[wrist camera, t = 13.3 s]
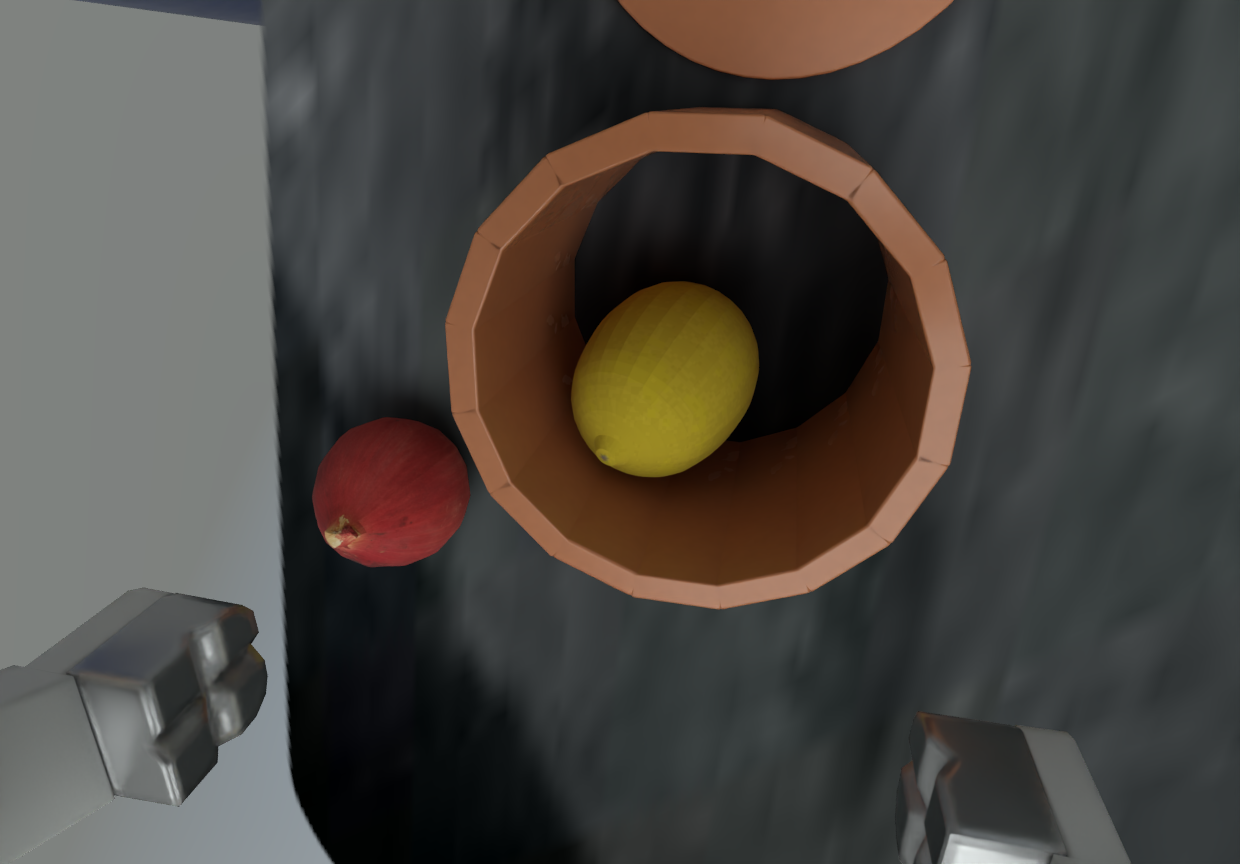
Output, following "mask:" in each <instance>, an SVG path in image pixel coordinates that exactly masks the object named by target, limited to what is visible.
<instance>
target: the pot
mask: <svg viewBox="0 0 1240 864" xmlns="http://www.w3.org/2000/svg"><path fill="white" fill-rule="evenodd" d="M658 151H660V152H687V153H714V154H740V155H755V156H757V157H760V158H762V159H764V160H766V161H768V162H770V163H772V164H774V165H776V166H778V167H780V168H782V169H784V170H786V171H788V172H790V173H792V174H794V175H796V176H798V177H800V178H802V179H804V180H806V181H808V182H810V183H812V184H814V185H817V186H819V187H821V188H823V189H825V190H827V191H829V192H831V193H833V194H835V195H837V196H839V197H841V198H843V199H845V200H847V201H848V203H849V204H850V205H851V206H852V207H853V209H854V210H855V211H856V212H857V214H858V215H859V216H860V217H861V218H862V220H863V221H864V222H865V223H866V225H867V226H868V227H869V228H870V229H871V231H872V232H873V233H874V234H875V235H876V237H877V238H878V242H879V245H880V249H881V253H882V257H883V261H884V264H885V268H886V272H887V276H888V284H887V290H886V296H885V303H884V309H883V315H882V321H881V327H880V333H879V339H878V342H877V344H876V345H875V347H874V349H873V350H872V352H871V353H870V355H869V356H868V358H867V360H866V361H865V363H864V364H863V366H862V368H861V369H860V371H859V372H858V374H857V375H856V377H855V379H854V380H853V382H852V383H851V385H850V386H849V388H848V390H847V391H846V393H845V394H843V395H842V396H840V397H839V398H838V399H836V400H835V401H833V402H832V403H831V404H829V405H828V406H826V407H825V408H824V409H822V410H821V411H820V412H818V413H817V414H815V415H814V416H813V417H811V418H810V419H808V420H807V421H806V422H804V423H803V424H801V425H800V426H799V427H797V428H794V429H790V430H786V431H782V432H778V433H774V434H770V435H767V436H763V437H759V438H755V439H751V440H747V441H743V442H735V441H725V442H724V443H723V444H722V445H721V446H720V447H718V448H717V449H716V450H715V451H714V452H713V453H712V454H710V455H709V456H708V457H706V458H705V459H703V460H702V461H700V462H699V463H697V464H696V465H694V466H692V467H691V468H689V469H687V470H685V471H683V472H680V473H677V474H673V475H668V476H664V477H641V476H635V475H631V474H627V473H624V472H622V471H619V470H617V469H615V468H613V467H611V466H609V465H606V464H604V463H602V462H601V461H600V460H599V459H598V457H597V456H596V455H595V454H594V453H593V452H592V450H591V449H590V448H589V447H588V445H587V444H586V442H585V441H584V439H583V438H582V436H581V434H580V432H579V429H578V427H577V425H576V422H575V420H574V414H573V409H572V403H571V390H572V383H573V377H574V373H575V369H576V366H577V363H578V361H579V358H580V356H581V354H582V352H583V350H584V348H585V347H586V344H585V342H584V339H583V337H582V334H581V332H580V329H579V326H578V324H577V321H576V319H575V257H576V254H577V252H578V249H579V247H580V244H581V242H582V240H583V237H584V235H585V232H586V230H587V227H588V225H589V222H590V220H591V217H592V215H593V212H594V210H595V208H596V205H597V203H598V202H599V201H600V200H601V199H602V198H603V197H604V196H605V195H606V194H607V193H608V192H609V191H610V190H611V189H612V188H613V187H614V186H615V185H616V184H617V183H618V182H619V181H620V180H621V179H622V178H623V177H624V176H625V175H626V174H627V173H628V172H629V170H630V169H631V168H632V167H633V166H634V165H635V164H636V163H637V162H638V161H639V160H640V159H641V158H643V157H645V156H648V155H650V154H653V153H655V152H658ZM445 329H446V343H447V357H448V370H449V384H450V398H451V411H452V415H453V417H454V420H455V422H456V424H457V426H458V428H459V430H460V432H461V434H462V437H463V439H464V441H465V443H466V445H467V447H468V449H469V451H470V454H471V456H472V458H473V460H474V462H475V464H476V466H477V468H478V471H479V473H480V475H481V477H482V479H483V481H484V483H485V485H486V488H487V490H488V492H489V493H490V495H491V496H492V497H493V498H494V499H495V500H496V501H497V502H498V503H499V504H500V505H501V506H502V507H503V508H504V509H505V510H506V511H507V512H508V513H509V514H510V515H511V516H512V517H513V518H514V519H515V520H516V521H517V522H518V523H519V524H520V525H521V526H522V527H523V528H524V529H525V530H526V531H527V532H528V533H529V534H530V535H531V536H532V537H533V538H534V539H535V540H536V541H537V542H538V543H539V544H540V545H541V546H542V547H543V549H544V550H545V551H546V552H547V553H548V554H549V555H550V556H553V555H554V557H555V558H556V559H558V560H560V561H562V562H564V563H566V564H568V565H570V566H572V567H574V568H576V569H578V570H580V571H582V572H584V573H586V574H588V575H590V576H592V577H594V578H596V579H598V580H600V581H602V582H604V583H606V584H608V585H610V586H612V587H614V588H616V589H618V590H620V591H622V592H624V593H626V594H628V595H631V594H632V596H633V597H637V598H644V599H651V600H658V601H665V602H671V603H678V604H685V605H692V606H699V607H706V608H712V609H720V608H721V609H726V608H731V607H736V606H742V605H747V604H752V603H758V602H763V601H768V600H774V599H779V598H784V597H790V596H795V595H800V594H806V593H809V592H810V591H814V590H816V589H817V588H819V587H821V586H822V585H824V584H826V583H827V582H829V581H831V580H832V579H834V578H836V577H837V576H839V575H841V574H842V573H844V572H846V571H847V570H849V569H851V568H852V567H854V566H855V565H857V564H859V563H860V562H862V561H864V560H865V559H867V558H869V557H870V556H872V555H874V554H875V553H877V552H879V551H880V550H882V549H884V548H885V547H887V546H889V545H890V543H892V542H893V541H894V539H895V538H896V537H897V535H898V534H899V533H900V531H901V530H902V529H903V527H904V526H905V525H906V523H907V522H908V521H909V519H910V518H911V517H912V515H913V514H914V513H915V511H916V510H917V509H918V507H919V506H920V504H921V503H922V502H923V500H924V499H925V498H926V496H927V495H928V494H929V492H930V491H931V490H932V488H933V487H934V486H935V484H936V483H937V482H938V480H939V479H940V478H941V476H942V475H943V474H944V472H945V471H946V470H947V468H948V465H950V463H951V459H952V454H953V450H954V445H955V440H956V436H957V431H958V427H959V422H960V417H961V413H962V408H963V404H964V399H965V394H966V390H967V385H968V381H969V376H970V372H971V365H970V364H971V360H970V356H969V351H968V347H967V343H966V339H965V334H964V330H963V326H962V322H961V317H960V313H959V309H958V305H957V300H956V296H955V292H954V288H953V283H952V279H951V275H950V271H949V266H948V262H947V260H946V259H945V257H944V254H943V253H942V252H941V251H940V249H939V248H938V247H937V246H936V244H935V243H934V242H933V241H932V240H931V238H930V237H929V236H928V235H927V233H926V232H925V231H924V230H923V228H922V227H921V226H920V225H919V223H918V222H917V221H916V220H915V218H914V217H913V216H912V215H911V213H910V212H909V211H908V210H907V209H906V207H905V206H904V205H903V204H902V202H901V201H900V200H899V199H898V197H897V196H896V195H895V194H894V192H893V191H892V190H891V189H890V187H889V186H888V185H887V184H886V182H885V181H884V180H883V179H882V178H881V176H880V175H879V174H878V173H877V171H876V170H875V169H874V168H873V167H872V166H870V165H869V164H868V163H867V162H866V161H865V160H864V159H863V158H862V157H861V156H860V155H859V154H858V153H856V152H855V151H854V150H853V149H852V148H851V147H850V146H849V145H848V144H847V143H845V142H843V141H841V140H839V139H837V138H835V137H833V136H831V135H829V134H827V133H825V132H823V131H821V130H819V129H817V128H815V127H813V126H811V125H809V124H807V123H804V122H802V121H800V120H798V119H796V118H794V117H792V116H790V115H788V114H786V113H784V112H782V111H780V110H776V109H752V108H714V107H697V108H685V109H674V110H662V111H650V112H646V113H643V114H641V115H638V116H636V117H633V118H631V119H629V120H626V121H624V122H622V123H619V124H617V125H615V126H612V127H610V128H607V129H605V130H603V131H600V132H598V133H596V134H593V135H591V136H588V137H586V138H584V139H581V140H579V141H577V142H574V143H572V144H569V145H567V146H565V147H562V148H560V149H558V150H555V151H553V152H551V153H548V154H547V155H546V156H545V157H543V158H542V159H541V160H540V161H539V162H538V164H537V165H536V166H535V167H534V168H533V169H532V170H531V171H530V172H529V173H528V174H527V175H526V177H525V178H524V179H523V180H522V181H521V182H520V183H519V184H518V185H517V186H516V187H515V189H514V190H513V191H512V192H511V193H510V194H509V195H508V196H507V197H506V198H505V199H504V200H503V202H502V203H501V204H500V205H499V206H498V207H497V208H496V209H495V210H494V211H493V212H492V213H491V215H490V216H489V217H488V218H487V219H486V220H485V221H484V222H483V223H482V224H481V225H480V227H479V228H478V230H477V231H476V232H475V234H474V237H473V240H472V243H471V246H470V249H469V252H468V255H467V258H466V261H465V264H464V267H463V270H462V273H461V276H460V279H459V282H458V285H457V287H456V290H455V293H454V296H453V299H452V302H451V305H450V308H449V311H448V314H447V317H446V323H445Z"/></svg>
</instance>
